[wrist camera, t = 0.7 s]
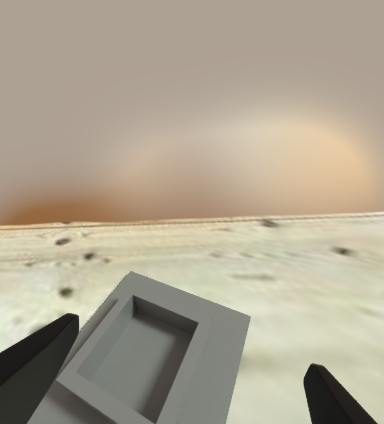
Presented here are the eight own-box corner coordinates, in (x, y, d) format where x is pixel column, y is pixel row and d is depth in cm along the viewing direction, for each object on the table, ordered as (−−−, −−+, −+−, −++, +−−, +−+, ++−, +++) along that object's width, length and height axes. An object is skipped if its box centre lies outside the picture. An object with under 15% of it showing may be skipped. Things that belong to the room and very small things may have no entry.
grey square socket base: (188, 578, 12) (185, 591, 10) (12, 421, 18) (-15, 408, 16) (249, 320, 24) (254, 300, 22) (131, 274, 30) (125, 255, 27)
